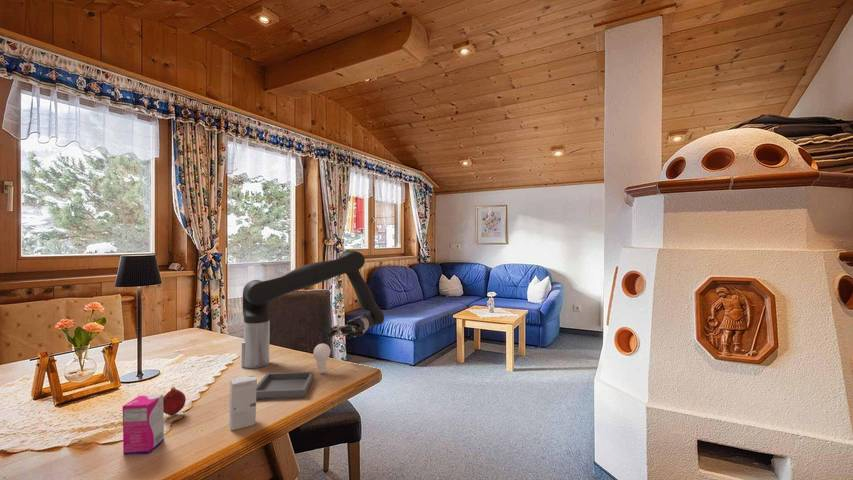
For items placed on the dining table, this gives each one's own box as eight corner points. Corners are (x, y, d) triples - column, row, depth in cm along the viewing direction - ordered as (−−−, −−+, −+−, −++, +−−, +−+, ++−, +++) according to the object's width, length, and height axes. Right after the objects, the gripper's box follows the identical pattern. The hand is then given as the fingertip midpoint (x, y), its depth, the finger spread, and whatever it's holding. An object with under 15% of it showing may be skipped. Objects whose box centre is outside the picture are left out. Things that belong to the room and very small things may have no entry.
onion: (190, 412, 103) (190, 384, 103) (170, 422, 98) (170, 392, 98) (175, 409, 105) (176, 381, 105) (155, 418, 100) (155, 389, 100)
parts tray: (250, 400, 112) (250, 392, 112) (266, 380, 128) (267, 373, 128) (304, 397, 114) (304, 389, 114) (313, 378, 130) (313, 371, 130)
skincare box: (230, 431, 94) (231, 384, 94) (228, 424, 97) (229, 378, 97) (256, 424, 97) (257, 379, 97) (253, 417, 101) (254, 374, 101)
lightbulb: (332, 370, 138) (332, 341, 138) (326, 376, 132) (327, 346, 132) (317, 370, 138) (317, 341, 138) (310, 375, 132) (310, 345, 132)
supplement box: (139, 441, 89) (139, 394, 89) (164, 440, 89) (165, 393, 89) (121, 455, 83) (121, 405, 83) (148, 454, 83) (149, 404, 83)
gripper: (343, 316, 164) (322, 325, 148) (371, 318, 160) (354, 327, 144) (343, 333, 164) (323, 343, 148) (371, 335, 160) (354, 346, 144)
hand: (338, 335), depth 146 cm, fingers open, 8 cm apart
